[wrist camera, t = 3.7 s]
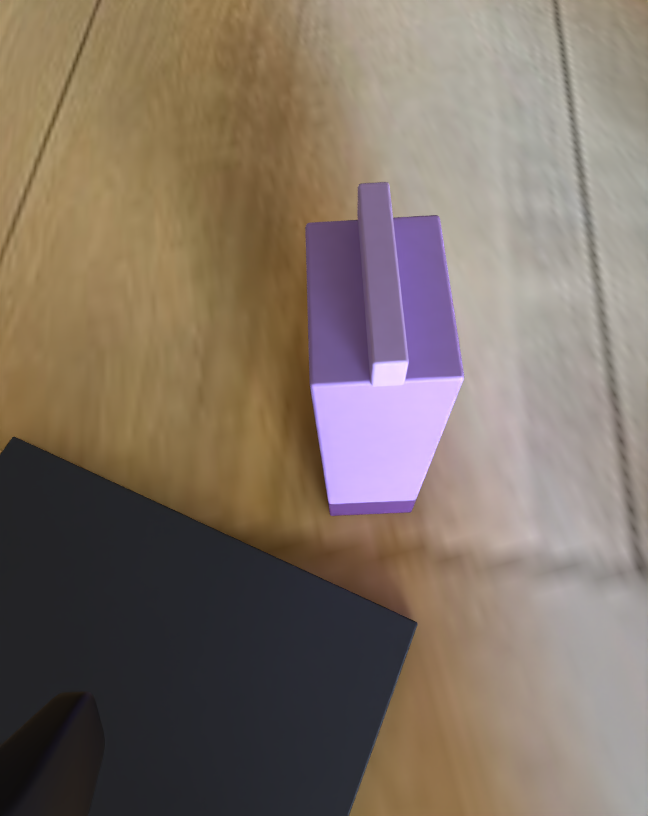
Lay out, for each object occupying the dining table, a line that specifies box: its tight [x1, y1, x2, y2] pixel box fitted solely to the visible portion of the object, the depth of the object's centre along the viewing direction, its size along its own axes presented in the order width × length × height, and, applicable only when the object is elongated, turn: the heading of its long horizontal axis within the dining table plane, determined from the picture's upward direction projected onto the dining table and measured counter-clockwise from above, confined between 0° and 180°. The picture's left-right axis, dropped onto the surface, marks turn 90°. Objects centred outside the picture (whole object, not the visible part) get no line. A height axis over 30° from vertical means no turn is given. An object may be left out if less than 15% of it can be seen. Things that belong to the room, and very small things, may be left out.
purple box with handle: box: [305, 182, 464, 516], centre depth 17 cm, size 5×3×12 cm
